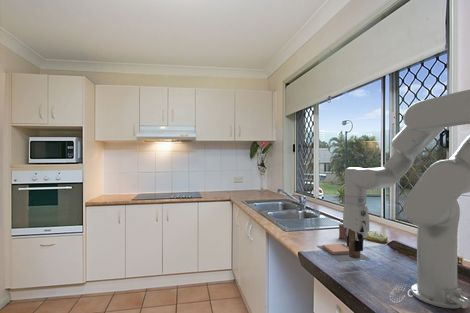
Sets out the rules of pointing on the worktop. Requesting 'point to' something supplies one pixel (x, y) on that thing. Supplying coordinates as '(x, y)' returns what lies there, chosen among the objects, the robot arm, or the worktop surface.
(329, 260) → the worktop surface
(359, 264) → the worktop surface
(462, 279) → the worktop surface
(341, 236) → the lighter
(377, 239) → the decorated donut
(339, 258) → the mat
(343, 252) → the tile
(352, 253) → the brown wooden block
